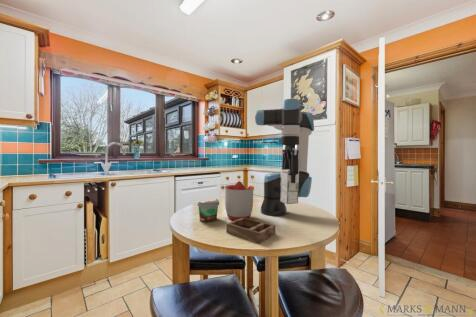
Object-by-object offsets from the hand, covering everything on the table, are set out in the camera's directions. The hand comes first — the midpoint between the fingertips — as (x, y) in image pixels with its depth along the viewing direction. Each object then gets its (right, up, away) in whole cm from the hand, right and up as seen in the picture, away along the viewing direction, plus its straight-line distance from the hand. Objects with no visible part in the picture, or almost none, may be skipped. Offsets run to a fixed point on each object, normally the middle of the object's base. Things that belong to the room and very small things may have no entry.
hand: (289, 188), depth 96 cm
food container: (-36, -19, +18) cm, 45 cm away
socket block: (-17, -20, +1) cm, 26 cm away
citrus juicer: (-21, -19, +24) cm, 37 cm away
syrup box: (0, -6, 0) cm, 6 cm away
